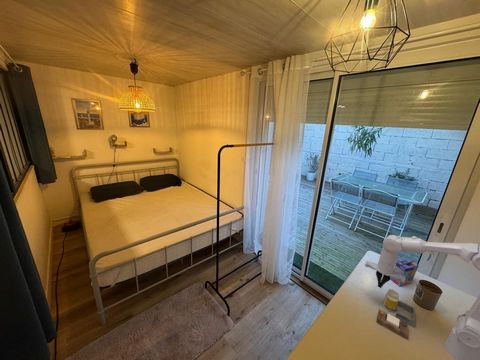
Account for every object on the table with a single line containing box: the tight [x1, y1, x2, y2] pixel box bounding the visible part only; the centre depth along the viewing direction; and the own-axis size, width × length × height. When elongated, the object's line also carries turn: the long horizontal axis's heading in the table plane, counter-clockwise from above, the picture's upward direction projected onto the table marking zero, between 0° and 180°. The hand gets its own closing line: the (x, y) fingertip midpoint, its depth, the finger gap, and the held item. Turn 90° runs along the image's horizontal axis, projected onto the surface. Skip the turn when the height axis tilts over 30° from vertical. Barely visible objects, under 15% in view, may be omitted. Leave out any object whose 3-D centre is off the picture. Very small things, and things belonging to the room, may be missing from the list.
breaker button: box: [385, 313, 399, 328], centre depth 82 cm, size 4×4×2 cm
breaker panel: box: [376, 308, 409, 340], centre depth 82 cm, size 10×6×3 cm, turn 49°
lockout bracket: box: [394, 300, 416, 328], centre depth 87 cm, size 6×9×2 cm, turn 139°
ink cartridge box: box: [389, 258, 419, 288], centre depth 104 cm, size 10×6×14 cm, turn 109°
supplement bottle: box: [382, 288, 400, 313], centre depth 89 cm, size 5×5×8 cm
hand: (379, 286), depth 90 cm, fingers closed
